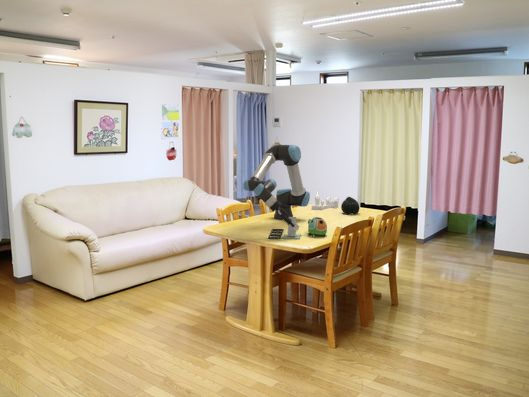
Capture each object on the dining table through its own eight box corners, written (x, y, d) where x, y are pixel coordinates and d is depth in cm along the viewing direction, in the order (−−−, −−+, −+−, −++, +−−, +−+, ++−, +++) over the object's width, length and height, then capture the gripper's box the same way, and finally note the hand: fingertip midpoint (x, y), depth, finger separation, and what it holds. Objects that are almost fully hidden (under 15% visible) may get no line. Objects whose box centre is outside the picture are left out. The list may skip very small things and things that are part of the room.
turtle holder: (317, 231, 343) (317, 214, 341) (330, 236, 326) (331, 219, 324) (301, 232, 338) (301, 215, 336) (314, 238, 321) (314, 220, 319)
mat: (283, 238, 319) (283, 237, 319) (284, 234, 330) (284, 234, 330) (299, 239, 318) (299, 238, 318) (300, 235, 329) (300, 234, 329)
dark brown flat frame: (272, 230, 344) (272, 228, 344) (283, 230, 343) (283, 229, 343) (268, 238, 319) (268, 237, 319) (280, 239, 318) (280, 237, 318)
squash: (359, 209, 398) (359, 194, 406) (341, 209, 400) (341, 194, 408) (359, 218, 409) (359, 203, 417) (341, 218, 412) (341, 203, 420)
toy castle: (310, 209, 428) (310, 191, 426) (325, 206, 448) (326, 188, 445) (324, 211, 419) (325, 192, 417) (339, 207, 439) (340, 189, 436)
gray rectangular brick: (287, 234, 322) (288, 218, 320) (288, 233, 327) (288, 216, 325) (295, 235, 321) (295, 218, 320) (295, 233, 326) (296, 217, 324)
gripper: (270, 205, 332) (294, 229, 333) (267, 209, 314) (292, 235, 315) (278, 197, 331) (302, 222, 331) (275, 201, 313) (301, 228, 313)
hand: (297, 229), depth 323 cm, fingers closed on gray rectangular brick, 5 cm apart
